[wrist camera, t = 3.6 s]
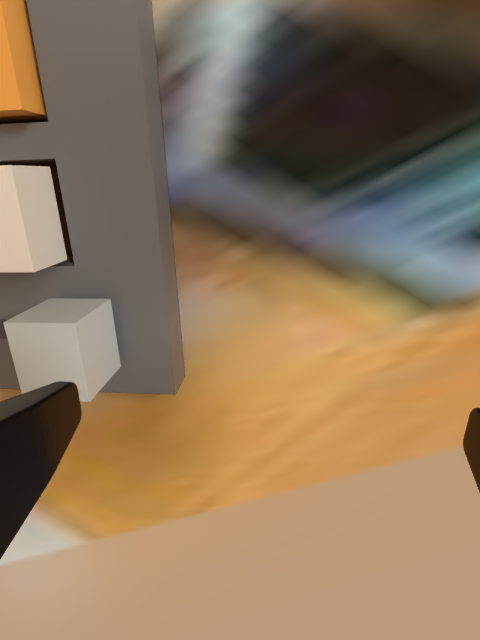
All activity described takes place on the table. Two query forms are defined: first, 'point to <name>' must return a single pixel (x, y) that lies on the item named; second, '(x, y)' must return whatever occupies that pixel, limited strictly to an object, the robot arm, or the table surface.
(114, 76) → the control panel
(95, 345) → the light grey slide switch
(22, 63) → the orange button
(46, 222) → the off-white button
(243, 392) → the table surface
